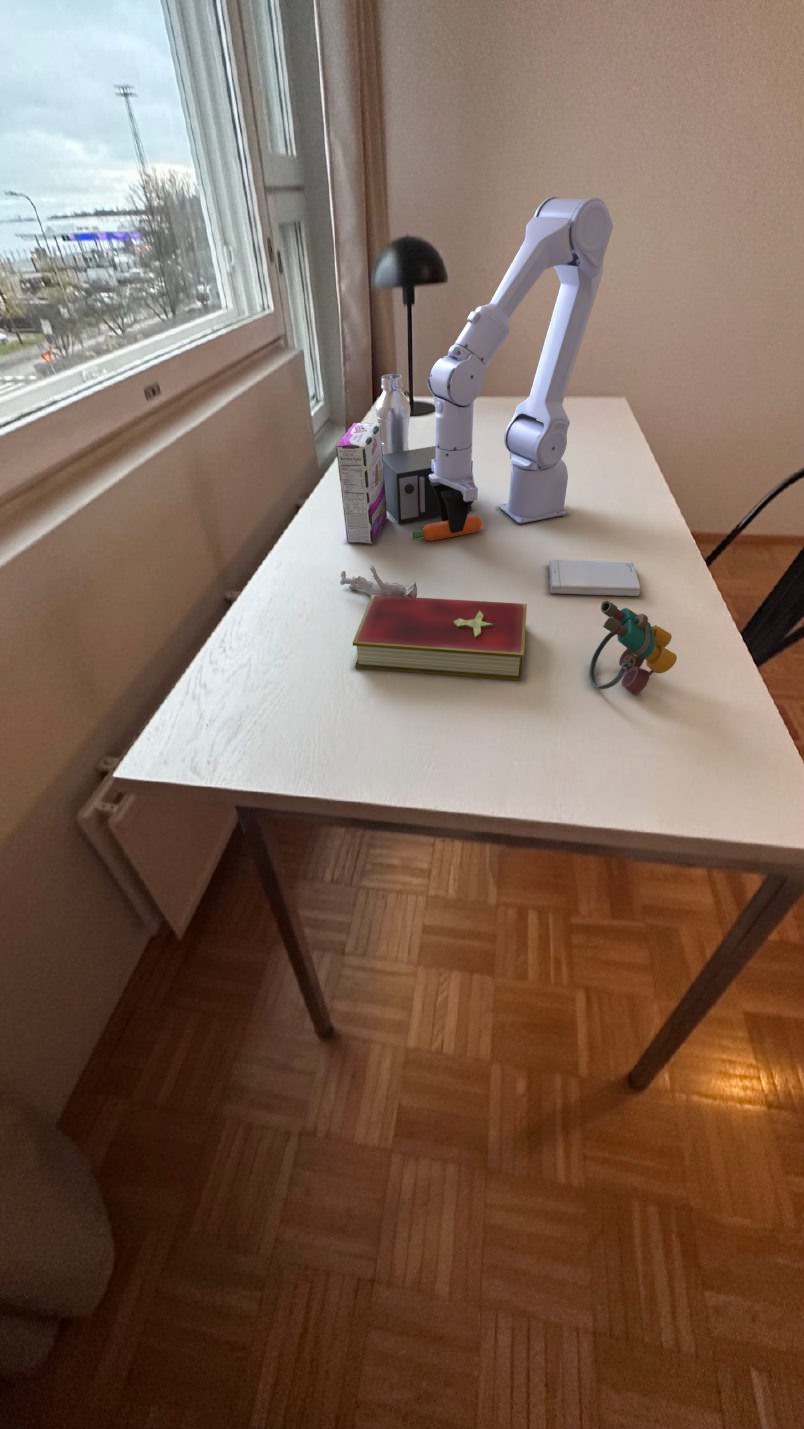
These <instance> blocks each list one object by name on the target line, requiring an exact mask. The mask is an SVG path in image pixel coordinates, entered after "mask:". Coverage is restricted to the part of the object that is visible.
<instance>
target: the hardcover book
mask: <svg viewBox="0 0 804 1429" xmlns="http://www.w3.org/2000/svg"><path fill="white" fill-rule="evenodd" d="M527 606H528V604H527V603H522V602H521V603H519V602H502V601H483V600H467V599H451V598H450V599H449V598H435V597H434V598H431V597H430V598H429V597H398V596H381V595H372V596H371V597H370V599H369V601H368V604H367V606H366V609H365V611H364V613H363V616H362V619H361V621H360V623H359V626H358V629H357V631H356V633H355V636H354V638H353V641H352V646H354V647H356V653H357V660H356V662H355V665H354V668H355V669H357V670H373V671H385V672H396V673H397V672H398V673H412V674H423V675H424V674H425V675H437V676H438V675H439V676H449V677H451V676H452V677H461V678H462V677H464V678H477V679H490V680H503V681H518V682H522V676H523V673H522V672H523V659H524V657H525V645H526V644H525V643H526V627H527V626H526V624H527V608H528V607H527Z"/></svg>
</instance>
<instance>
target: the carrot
mask: <svg viewBox="0 0 804 1429" xmlns="http://www.w3.org/2000/svg"><path fill="white" fill-rule="evenodd" d="M482 528H483V520H482V518H480V517H479V516H478V515H467V518H466V522H465V525H464V529H463V531H460V532H455V533H451V531H450V528H449V522H448V520H447V521H442V520H441V521H438V522H432V523H428V524H426V525H424V526H423V528H422V530H416V531H412V532H411V536H412V539H413V540H417V539H425V541H428V542H433V541H438V540H443V539H448V538H454V537H458V536H463V535H469V534H473V533H477V532H479V531H480V530H481V529H482Z"/></svg>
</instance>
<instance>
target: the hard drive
mask: <svg viewBox="0 0 804 1429" xmlns="http://www.w3.org/2000/svg"><path fill="white" fill-rule="evenodd" d="M548 566H549V567H548V572H549V588H550V594H558V595H559V594H561V595H562V594H563V595H588V596H589V595H591V596H623V597H640V593H641V585H640V581H639V577H638V574H637V571H636V567H635V563H634V561H612V560H611V561H608V560H575V559H574V560H573V559H550V560H549V565H548Z"/></svg>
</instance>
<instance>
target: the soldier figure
mask: <svg viewBox="0 0 804 1429" xmlns="http://www.w3.org/2000/svg"><path fill="white" fill-rule="evenodd" d="M368 568H369V569H370V571H371V573H372V577H373V579H374V580H375V582H376V583H375V582H374V581H372V580H368V579H366V578H365V577H364V576H362V575H357V576H352V577H346V576H347V572H346V571H344V570H342V571H341V573H340V578H341V580H340V582H339V583H340V585H341V586H344V585H349V586H348V587H349V588H348V589H349V590H354V589H355V590H363V591H364V592H365V594H366V595H367V596H369V597H370V598H371V596H372V595H381V596H398V597H416V598H418V587H417V583H416V581H415V580H414V581H413V582H412V583H411V584H410V585H409V584H408V585H407V587H406V586H404V585H402V584H400V583H399V582H391V583H389V582H388V581H386V582H384V581H383V580H382V579H381V578H380V576H379V574H378V573H377V570H376V568H375V566H374V564H371V565H369V566H368Z"/></svg>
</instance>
